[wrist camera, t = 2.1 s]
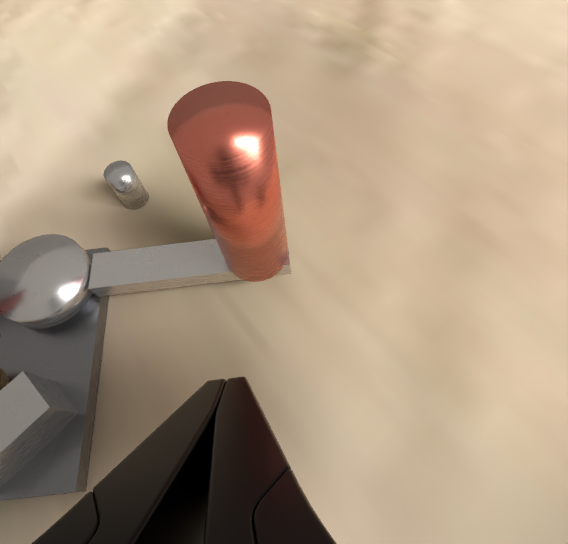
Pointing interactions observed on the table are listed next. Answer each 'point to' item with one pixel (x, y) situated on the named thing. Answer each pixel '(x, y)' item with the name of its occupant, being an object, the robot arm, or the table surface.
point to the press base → (76, 378)
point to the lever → (181, 256)
